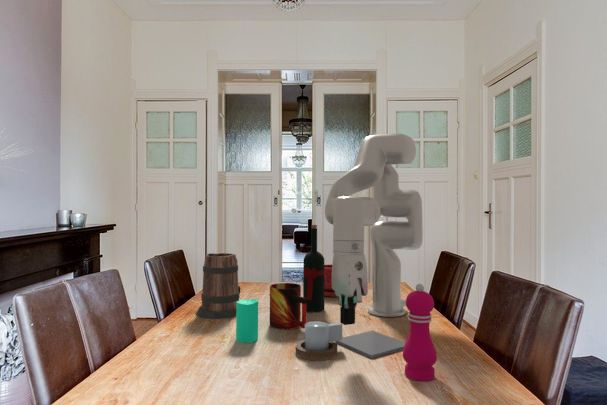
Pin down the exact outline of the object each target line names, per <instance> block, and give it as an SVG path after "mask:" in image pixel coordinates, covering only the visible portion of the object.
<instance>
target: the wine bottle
mask: <svg viewBox="0 0 607 405" xmlns="http://www.w3.org/2000/svg"><path fill="white" fill-rule="evenodd" d="M310 237H311V238H310V251H308V252H307V253H306V254H305V256H304V257H303V270H302V271H303V273H302V274H303V275H302V276H303V277H302V279H303V281H302V282H303V284H302V297H304V298H306V313H321V312H324V311H325V310H326V309H325V300H326V299H325V295H324V265H325V257H324V256H323V253H321V252H319V251H318V224H311V228H310Z"/></svg>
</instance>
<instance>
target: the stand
mask: <svg viewBox="0 0 607 405" xmlns="http://www.w3.org/2000/svg"><path fill="white" fill-rule="evenodd" d="M295 355H296V356H297V357H299V358H301V359H304V360H308V361H319V362H321V361H327V360H331V359H333V358H335V357H337V356H338V343H335V341H334V342H329V350H324V351H310V350H306V349H305V339H301V340H300V341H298V342H296V344H295Z"/></svg>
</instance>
